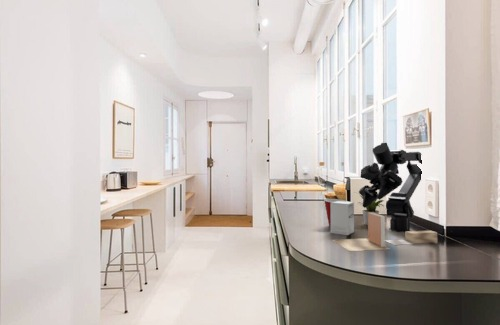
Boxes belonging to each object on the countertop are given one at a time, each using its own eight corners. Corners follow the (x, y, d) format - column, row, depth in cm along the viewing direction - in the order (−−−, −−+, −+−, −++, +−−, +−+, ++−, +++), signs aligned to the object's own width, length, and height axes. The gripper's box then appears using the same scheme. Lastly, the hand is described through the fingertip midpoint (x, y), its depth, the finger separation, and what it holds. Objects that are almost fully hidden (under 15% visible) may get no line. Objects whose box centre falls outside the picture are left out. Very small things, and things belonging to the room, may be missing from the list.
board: (368, 239, 111) (368, 238, 111) (390, 250, 98) (390, 249, 98) (331, 241, 110) (331, 239, 110) (349, 252, 96) (349, 250, 96)
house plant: (352, 226, 134) (351, 189, 134) (351, 220, 148) (350, 187, 148) (387, 228, 130) (386, 190, 130) (383, 222, 144) (382, 187, 144)
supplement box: (348, 236, 116) (348, 203, 117) (330, 234, 121) (329, 202, 121) (354, 233, 122) (354, 201, 122) (337, 230, 127) (336, 200, 127)
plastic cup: (348, 230, 128) (348, 201, 128) (322, 228, 132) (322, 200, 132) (349, 225, 138) (349, 198, 138) (324, 223, 142) (324, 197, 142)
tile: (372, 240, 108) (371, 212, 108) (384, 246, 100) (384, 216, 100) (367, 240, 108) (367, 212, 108) (380, 246, 100) (380, 216, 100)
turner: (428, 240, 110) (428, 229, 110) (440, 245, 104) (440, 233, 104) (384, 242, 108) (384, 231, 108) (394, 247, 102) (394, 235, 102)
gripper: (356, 170, 126) (340, 197, 119) (383, 149, 110) (367, 179, 102) (378, 187, 125) (363, 215, 118) (409, 168, 109) (394, 199, 101)
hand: (370, 203), depth 110 cm, fingers open, 9 cm apart
